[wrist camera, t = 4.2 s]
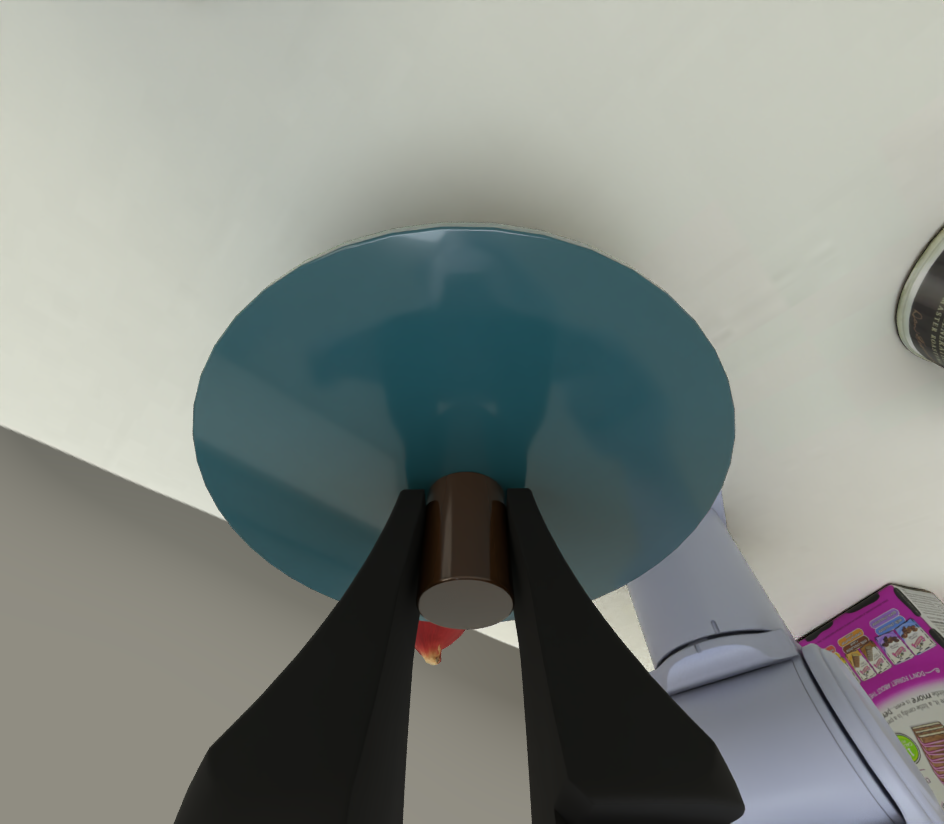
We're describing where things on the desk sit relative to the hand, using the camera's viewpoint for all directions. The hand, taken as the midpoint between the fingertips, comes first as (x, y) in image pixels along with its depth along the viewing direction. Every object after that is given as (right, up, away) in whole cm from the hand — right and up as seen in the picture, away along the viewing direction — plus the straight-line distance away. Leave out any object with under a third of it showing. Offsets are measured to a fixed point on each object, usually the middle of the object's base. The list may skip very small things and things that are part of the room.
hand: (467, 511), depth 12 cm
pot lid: (0, +1, +1) cm, 1 cm away
